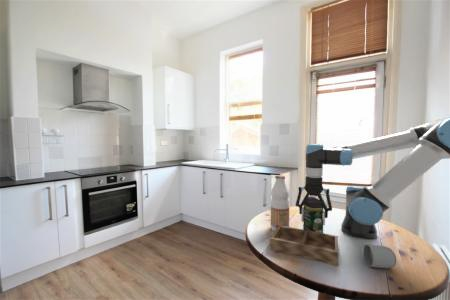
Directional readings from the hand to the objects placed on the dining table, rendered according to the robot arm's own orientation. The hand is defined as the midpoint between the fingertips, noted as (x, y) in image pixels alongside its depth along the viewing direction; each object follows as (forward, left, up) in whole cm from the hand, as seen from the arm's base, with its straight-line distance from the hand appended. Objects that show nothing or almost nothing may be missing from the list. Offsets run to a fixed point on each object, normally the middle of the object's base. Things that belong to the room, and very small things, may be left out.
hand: (313, 222), depth 105 cm
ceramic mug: (-23, +15, -7) cm, 28 cm away
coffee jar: (0, 0, -7) cm, 7 cm away
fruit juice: (+16, 0, -7) cm, 17 cm away
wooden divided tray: (+2, +15, -6) cm, 16 cm away
